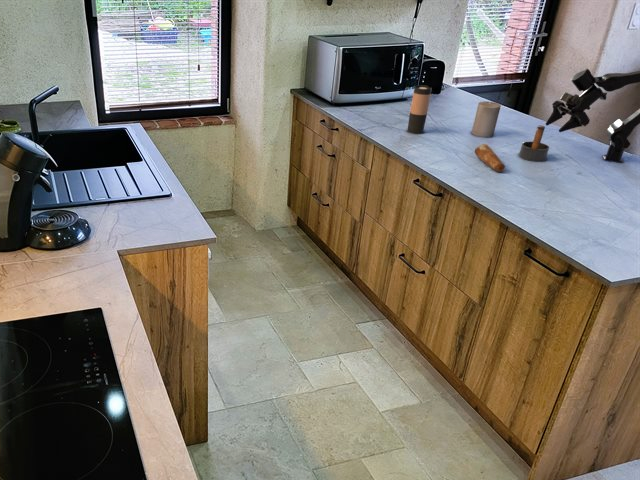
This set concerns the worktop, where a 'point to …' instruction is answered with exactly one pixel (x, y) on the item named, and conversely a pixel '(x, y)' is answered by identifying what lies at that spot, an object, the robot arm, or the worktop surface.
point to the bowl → (533, 152)
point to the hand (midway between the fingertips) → (552, 128)
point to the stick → (538, 137)
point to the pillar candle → (486, 119)
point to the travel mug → (419, 109)
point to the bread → (489, 157)
